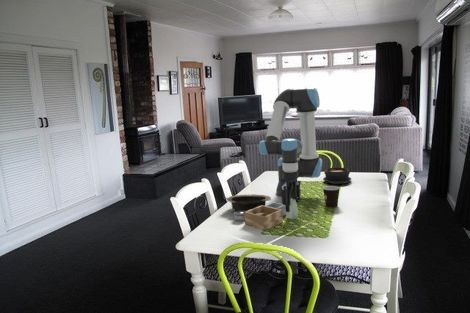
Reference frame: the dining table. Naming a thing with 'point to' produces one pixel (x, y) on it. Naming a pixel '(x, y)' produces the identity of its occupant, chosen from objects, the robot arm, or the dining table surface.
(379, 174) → the dining table surface
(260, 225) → the oak crate
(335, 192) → the coffee mug
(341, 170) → the casserole
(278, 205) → the grey tub
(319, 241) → the dining table surface
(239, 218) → the pewter tin
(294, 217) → the pale green block
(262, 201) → the stone bowl
